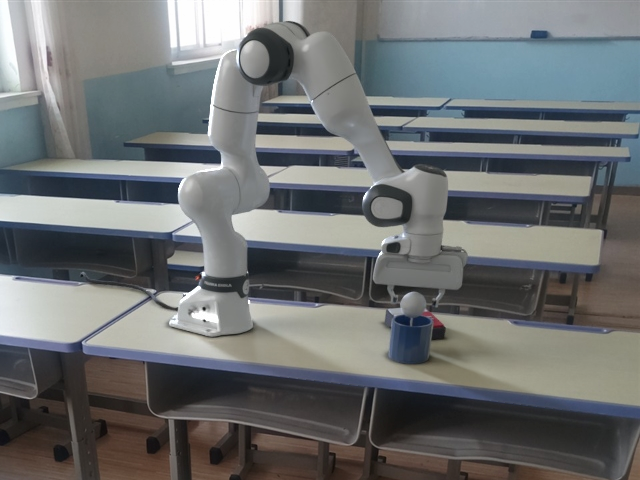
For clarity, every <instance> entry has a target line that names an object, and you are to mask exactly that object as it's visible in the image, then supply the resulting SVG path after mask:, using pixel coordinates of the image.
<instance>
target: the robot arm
mask: <svg viewBox="0 0 640 480" xmlns="http://www.w3.org/2000/svg"><path fill="white" fill-rule="evenodd" d="M289 79H291V80H294V81H297V83H298V84H299V85H300V86H301V87H302V89H303V91H304V93H305V95H306V97H307V99H308V101H309V104H310V106H311V108H312V110H313V112H314V114H315V116H316V117H317V119H318V120H319V122H320V123H321V125H322V126H323V127H324V128H325V130H326V131H327V132H328V133H330V134H332V135H335V136H338V137H340V138H342V139H344V140H346V141H347V142H348V143H350V144H351V145H352V147H354V149H355V150H356V152H357V153H358V154H359V157H360V159H361V161H362V163H363V164H364V166H365V168H366V170H367V172H368V173H369V177H371V180H372V182H373V183H372V184H373V185H372V186H371V187H370V188H369V189H368V190H367V191H366V192H365V194H364V196H363V199H362V203H361V207H362V208H361V209H362V213H363V216H364V218H365V219H366V221H367V222H368V223H369V224H370V225H372V226H374V227H377V228H390V227H398V226H399V227H400V226H402V233H399V234H395V235H391V236H388V237H386V238H384V240H383V241H382V242H381V246H380V247H381V248H380V249H381V251H380V253H379V254H378V256H377V258H376V261H375V264H374V268H373V273H372V274H373V275H372V280H373V283H375V284H376V285H385V286H387V289H386V290H387V292H388V294H389V296H390V305H397V304H398V303H399V294H395V291H394V289H395V286H399V287H400V286H401V287H412V288H413V287H414V288H425V289H426V288H427V289H437V290H438V295H437V296H436V297H432V299H431V300H432V301H431V308H437V309H438V308H439V303H440V300H442V299H443V296H444V295H445V293H446V290H451V291H458V290H459V289H460V288H461V287H462V285H463V279H464V267H465V266H466V265H467V262H468V258H469V256H468V251H467V250H465V249H464V248H463V247H462V246H459V245H458V246H452V245H442V244H443V236H444V217H445V215H446V212H447V208H448V207H447V206H448V197H449V179H448V175H447V173H446V172H445V171H444V170H443V169H442V168H440V167H437V166H435V165H430V164H423V163H419V164H418V163H417V164H415V165H413V166H412V167H411V168H410V169H408V170H406V171H405V170H404V169H403V168H402V167H401V166H400V164H399V163H398V162H397V160H396V158H395V156H394V155H393V152H392V150H391V148H390V147H389V144H388V142H387V141H386V139H385V137H384V135H383V133H382V131H381V129H380V128H379V126H378V124H377V121H376V119H375V117H374V114H373V112H372V109H371V105H370V104H369V101H368V98H367V96H366V93H365V91H364V88H363V86H362V82H361V80H360V78H359V76H358V74H357V72H356V70H355V67H354V65H353V63H352V62H351V60H350V58H349V56H348V54H347V53H346V51H345V49H344V48H343V46H342V45H341V43H340V42H339V41H338V39H337V37H335V36H334V35H333V34H332V33H331V32H329V31H326V30H325V31H324V30H323V31H317V32H314V33H312V34H311V32H310V31H308V29H307V28H306V27H305V26H304V25H302V24H301V23H300V22H296V21H293V20H285V21H275V22H270V23H268V24H266V25H264V26H261V27H257V28H256V27H255V28H254V29H252V30H250V31H249V32H248V33H246V34H245V35H244V37H243V38H242V39H241V41H240V42H239V45H238V47H237V49H232V50H229V51H227V52H225V53H224V54H223V55H222V56H221V57H220V59H219V61H218V65H217V69H216V73H215V78H214V83H213V86H212V93H211V101H210V110H209V121H208V131H207V137H208V140H209V142H210V144H211V146H212V147H213V148H214V149H215V150H217V152H219V153H220V160H221V163H220V167H217V168H211V169H205V170H199V171H196V172H194V173H192V174H190V175H187V176H185V177H184V178H182V180H181V182H180V184H179V187H178V190H177V191H178V192H177V200H178V204H179V206H180V209H181V211H182V213H183V214H184V215H185V216H186V217H187V218H189V219H190V220H191V221H192V222H193V223H194V225H195V226H196V228H197V230H198V233H199V234H200V238H201V242H202V250H203V252H202V253H203V266H204V269H203V271H202V272H200V273H198V275H196V276H195V281H196V282H197V281H198V285H197V286H196V287H195V288H193V289H192V290H191V291H189V292H183V293H182V297H181V299H180V301H179V302H178V306H177V307H174V306H170V305H168V304H166V303H165V302H163V301H161V300H159V299H157V297H156V296H155V294H153V292H152V291H150V290H148V291H146V290H147V288H145V287H142V286H139V285H135V284H132V283H131V284H130V283H125V282H118V281H109V280H98V279H97V280H96V279H92V278H90V277H89V276H88V275H87V273H86V272H85V271H82V272H80V275H79V277H80V278H84V279H85V281H87V282H89V283H92V284H96V285H110V286H117V287H124V288H129V289H135V290H137V291H141V292H143V293H145V294H147V295H148V296H150V297H151V299H152V301H153V302H154V303H156V304H157V305H158V306H161V307H163V308H164V309H168V310H173V311H177V314H175V315H173V316H172V317H170V319H169V326H170V327H171V328H175V329H179V330H183V331H188V332H191V333H194V334H199V335H203V336H206V337H210V338H211V337H213V338H214V337H218V336H219V337H220V336H225V335H237V334H241V333H245V332H247V331H250V330H252V328H254V322H253V319H252V315H251V309H250V304H251V301H250V300H249V294H250V293H249V292H250V273H249V271H248V242H247V239H246V238H245V237H244V236H243V234H241V233H239V232H238V231H236V230H235V227H234V224H233V219H232V217H233V216H235V215H240V214H244V213H250V212H252V211H254V210H257V209H258V208H260V207H262V206H264V204H266V202H267V201H268V199H269V196H270V192H271V184H270V183H271V182H270V179H269V177H268V173H266V171H265V170H264V169H263V168H262V166H261V165H260V164H259V161H258V156H257V150H256V139H257V129H258V121H259V120H258V119H259V112H260V104H261V98H262V97H261V96H262V92H263V90H264V87H268V86H272V85H276V84H280V83H283V82H286V81H288V80H289Z"/></svg>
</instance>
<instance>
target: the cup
mask: <svg viewBox="0 0 640 480" xmlns="http://www.w3.org/2000/svg"><path fill="white" fill-rule="evenodd" d="M410 323H411V318H409V317H407V316H405V315H404V314H402V315H397V316H394V317H393V318H392V324H391V327H390V334H389V345H388V358H389V359H390V360H392V361H394V362H396V363H399V364H400V363H401V364H405V365H406V364H407V365H417V364H422V363H425V362H427V361H428V360H429V358H430V354H431V345H432V339H431V338H432V331H433V323H434V322H433V320H432V319H431V318H429V317H427V316H423V315H420V316H418V317H416V318H413V323H412V326H410Z"/></svg>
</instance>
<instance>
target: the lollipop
mask: <svg viewBox="0 0 640 480" xmlns="http://www.w3.org/2000/svg"><path fill="white" fill-rule="evenodd" d="M399 306H400V307H399V308H401V311H402V312H403V314H404V315H405V316H407V317H409V318H411V323H410V326H412V323H413V318H416V317H418V316H420V315H421V314H422V313H423V312H424V311H425V308H426V307H427V301H426V298H425V296H424V295H423V294H421V293H420V292H417V291H411V292H407V293H406V294H405V295H404V296H403V297H402V299H401V300H400V303H399ZM426 309H427V308H426Z"/></svg>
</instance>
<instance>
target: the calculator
mask: <svg viewBox="0 0 640 480" xmlns="http://www.w3.org/2000/svg"><path fill="white" fill-rule="evenodd" d="M402 314H403V312H402V311H401V307H396V308H388V309H386V310H385V316H384V324H385V325H386V326H387V327H388V328H391V324H392V318H393V317H394V316H397V315H402ZM421 315H423V316H427V317H429V318H431V319H432V320H433V322H434V323H433V331H432V338H431V340H443V339H445V338H446V337H445V336H446V330H447V327H446V326H445V324H444V323H443V322H442V321H441V320H439V319H438V317H436V316H435V315H434V314H433V313H432V312H431V311H429V310H428V309H427V308H425V311H424V312H423V313H422V314H421Z"/></svg>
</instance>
